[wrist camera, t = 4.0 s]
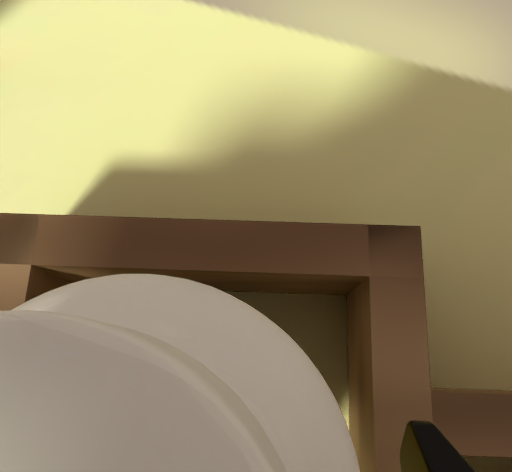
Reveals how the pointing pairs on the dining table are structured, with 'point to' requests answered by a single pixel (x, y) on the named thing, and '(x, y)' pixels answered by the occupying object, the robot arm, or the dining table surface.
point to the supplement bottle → (160, 384)
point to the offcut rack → (284, 281)
